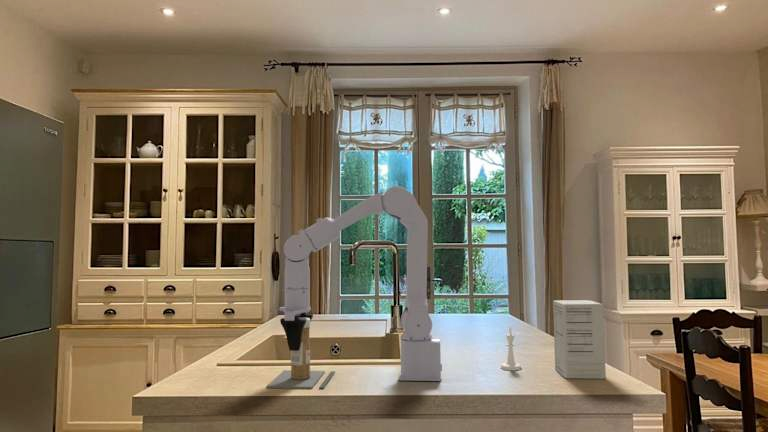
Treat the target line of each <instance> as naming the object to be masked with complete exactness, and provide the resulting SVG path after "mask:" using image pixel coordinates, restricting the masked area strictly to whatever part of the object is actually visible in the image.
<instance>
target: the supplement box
mask: <svg viewBox="0 0 768 432" xmlns="http://www.w3.org/2000/svg"><path fill="white" fill-rule="evenodd" d="M552 305H553V306H552V309H553V331H554V332H553V335H554V338H553V340H554V341H553V343H554V371H557V372H558V373H559V374H560V375H562V377H564V378H565V379H591V380H592V379H593V380H594V379H596V380H597V379H601V380H603V379H606V377H607V376H606V371H607V370H606V347H605V346H606V345H605V342H606V341H605V315H604V314H605V313H604V311H605V310H604V303H600V302H597V301H593V300H590V299H589V300H588V299H583V300H582V299H581V300H580V299H579V300H577V299H575V300H572V299H571V300H570V299H569V300H568V299H567V300H566V299H565V300H562V299H560V300H555V299H554V300H553V301H552Z"/></svg>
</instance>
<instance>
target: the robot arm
mask: <svg viewBox="0 0 768 432" xmlns="http://www.w3.org/2000/svg"><path fill="white" fill-rule="evenodd" d="M383 213H385V214H387V215H389V216H391V217H392V218H394V219H396V220H398V221H399V223H401V224H402V225H403V226H404V227H405V228H406V231H407V238H406V278H405V279H406V285H405V289H406V291H405V300H404V309H403V311H402V314H401V316H400V323H401V327H402V328H403V330H404V331H403V333H402V334H401V335H400V370H399V373H398V381H410V382H411V381H412V382H415V381H416V382H418V381H419V382H420V381H421V382H440V381H442V380H441V377H442V372H443V363H442V362H441V339H440V338H436V337H435V338H433V335H432V334H431V333H432V329H433V321H432V319H431V317H430V313H429V303H428V302H429V301H428V298H427V295H428V294H427V288H428V287H427V286H428V285H427V284H428V236H429V235H428V231H429V230H428V228H429V227H428V226H429V224H428V223H429V222H428V218H427V216H426V215H425V213H424V211H423V210H422V208H421V206H420V205H419V203H418V202H417V199H416V197H415V195H413V194H412V193H411V192H410V191H409V190H407V189H406V188H405V187H402V186H400V185H399V186H398V185H396V186H391V187H389V188H388V189H387V190H386V191H380V192H377V193H375V194H374V195H371V196H370V197H367V198H365V199H364V200H362V201H361V202H359V203H357V204H355V205H354V206H353V207H350V209H348V210H346V211H345V212H343V213H342V214H340V215H338V216H336V218H331V217H323V218H321V217H319V218H317V219H316V220H315V223H314V224H312V225H310V226H309V227H306V228H305V229H304V230H303V229H300V230H298V231H297V232H298V234H293V235H291V236H290V237H288V238H287V239H286V241H284V242H285V243H284V244H283V253H284V256H285V259H284V260H285V261H284V266H285V268H284V306H280V307H279V310H278V311H279V312H284V317H281V318H280V325H281V326H282V328H283V331H284V333H285V337H286V341H287V346H288V350H289V351H290V352H291V351H299V349H300V345H301V337H302V331H303V328H304V325H305V323H306V321H307V320H299V318H298V317H306V318H310V323H311V321H312V319H313V318H314V317H313V316H314V314H313V313H309V312H311V310H312V307H311V303H310V302H311V290H310V289H311V288H310V287H311V285H310V284H311V275H310V274H311V269H310V267H309V266H310V258H309V256H310V254H311V252H314V253H317V252H318V251H320V250H321V249H323V248H325V247H327V246H328V245H330V244H332V243H334V242H335V241H336V240H338V239H339V238H340V235H341V231H342V230H344V229H346V228H348V227H350V226H351V225H353V224H355V223H357V222H358V221H361V220H363V219H364V218H365V217H368V216H369V215H381V214H383Z"/></svg>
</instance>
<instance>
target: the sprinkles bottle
mask: <svg viewBox="0 0 768 432" xmlns="http://www.w3.org/2000/svg"><path fill="white" fill-rule="evenodd" d="M298 318H299V320H307V321H306V323H305V325H304V328H303V331H302V337H301V345H300V349H299V351H290V365H291V366H290V370H291V378H292V379H295V380H303V379H307V378H309V377H310V376H311V374H310V371H311V343H310V341H311V340H310V329H311V322H310V318H306V317H298Z"/></svg>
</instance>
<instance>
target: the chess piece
mask: <svg viewBox="0 0 768 432" xmlns="http://www.w3.org/2000/svg"><path fill="white" fill-rule="evenodd" d="M508 331H509V333H507V334H506V336H505V337H506V339H507V343H506V345H505V346H507V347H508V353H507V359H506V360H505V362H503V363H501V365H500V368H501V370H505V371H520V370H521V369H522V365H521V364H520V363H517V362H516V360H515V357H514V348H513V347H515V346H516V344H515V343H513V342H514V338H515V334H513V333H512V327H511V326H509V329H508Z"/></svg>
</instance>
